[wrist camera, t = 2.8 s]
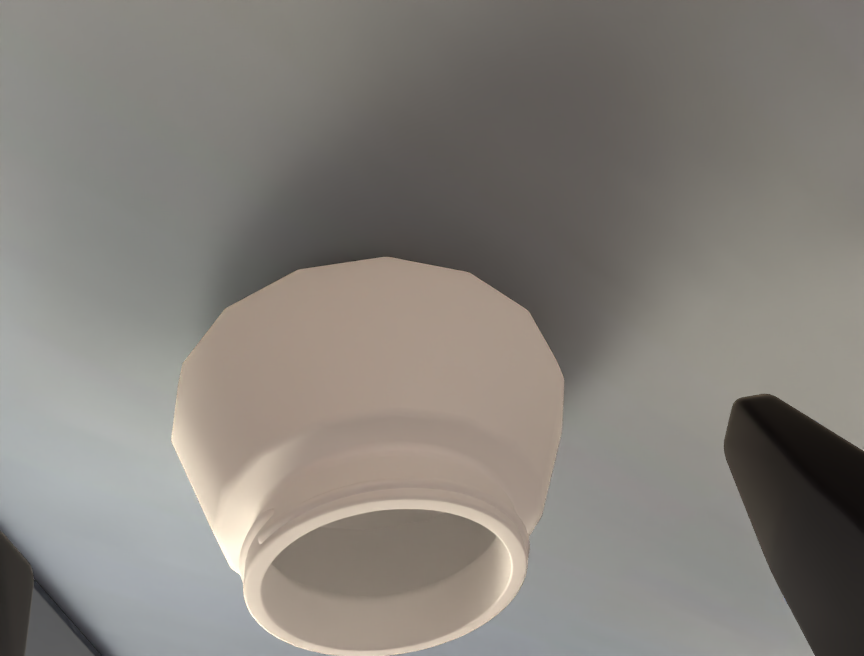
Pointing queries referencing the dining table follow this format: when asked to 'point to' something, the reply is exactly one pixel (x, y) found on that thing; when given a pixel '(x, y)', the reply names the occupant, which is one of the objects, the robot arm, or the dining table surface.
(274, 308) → the white jar
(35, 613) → the slate mat
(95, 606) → the dining table surface
